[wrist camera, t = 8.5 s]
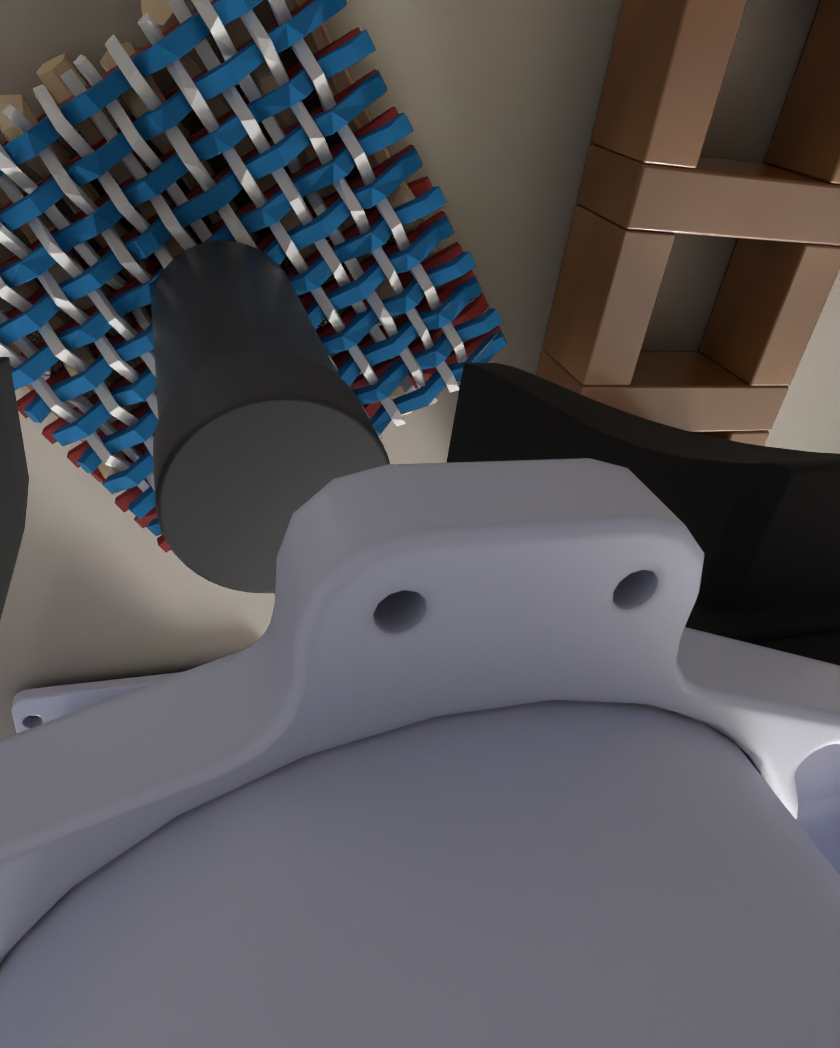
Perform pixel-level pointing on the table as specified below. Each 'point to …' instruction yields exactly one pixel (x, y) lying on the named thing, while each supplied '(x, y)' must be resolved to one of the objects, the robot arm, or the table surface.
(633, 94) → the marker stand
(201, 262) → the cylinder
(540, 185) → the table surface
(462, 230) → the table surface
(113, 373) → the woven mat
